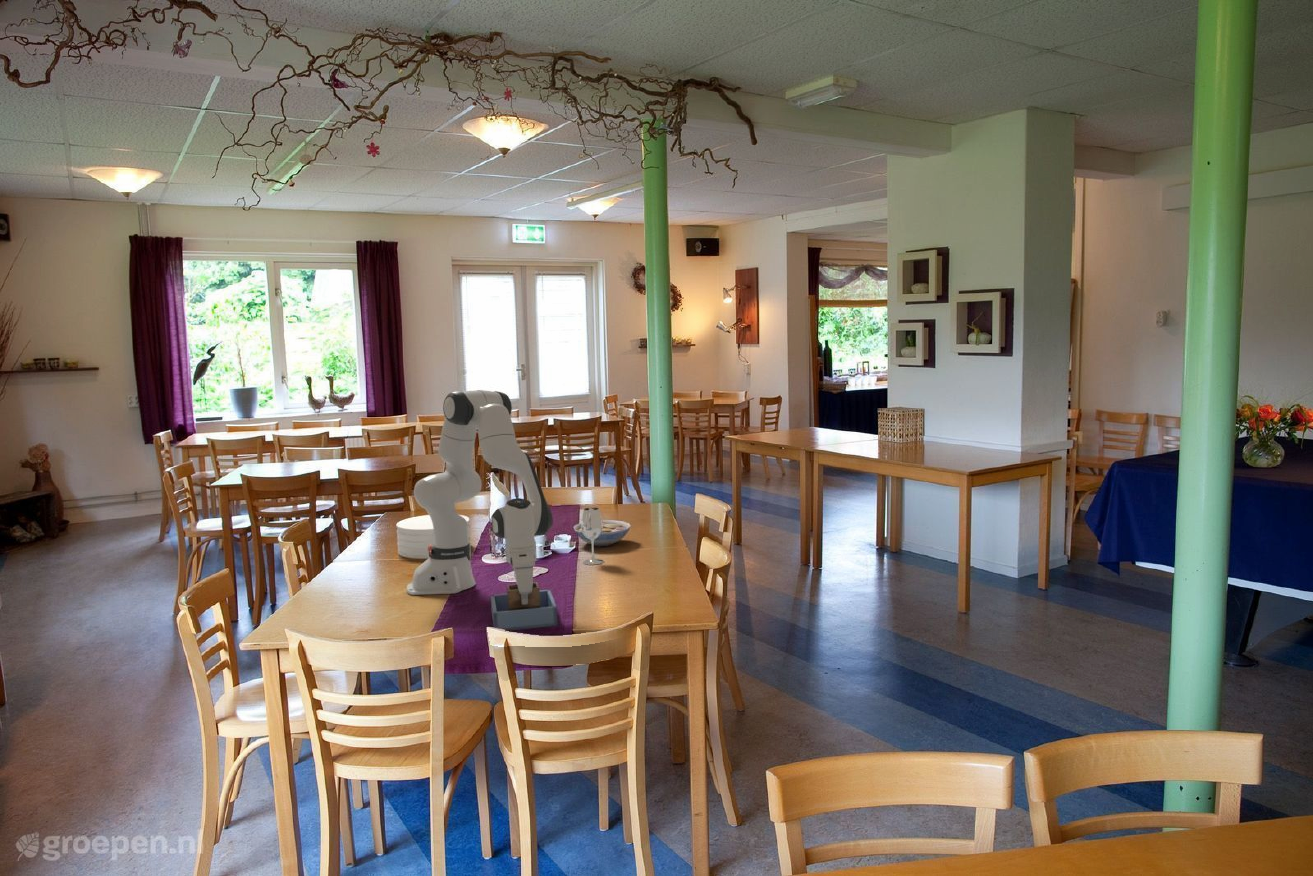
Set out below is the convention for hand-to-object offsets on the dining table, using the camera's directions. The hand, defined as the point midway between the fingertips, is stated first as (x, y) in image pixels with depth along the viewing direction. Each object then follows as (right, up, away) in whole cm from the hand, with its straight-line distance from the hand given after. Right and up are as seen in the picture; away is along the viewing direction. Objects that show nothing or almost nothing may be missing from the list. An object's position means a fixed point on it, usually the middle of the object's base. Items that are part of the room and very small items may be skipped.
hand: (523, 600), depth 257 cm
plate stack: (-49, +3, +89) cm, 101 cm away
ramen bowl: (+18, +5, +89) cm, 91 cm away
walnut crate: (0, -2, 0) cm, 2 cm away
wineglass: (+16, +2, +63) cm, 65 cm away
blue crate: (0, -6, +1) cm, 6 cm away
